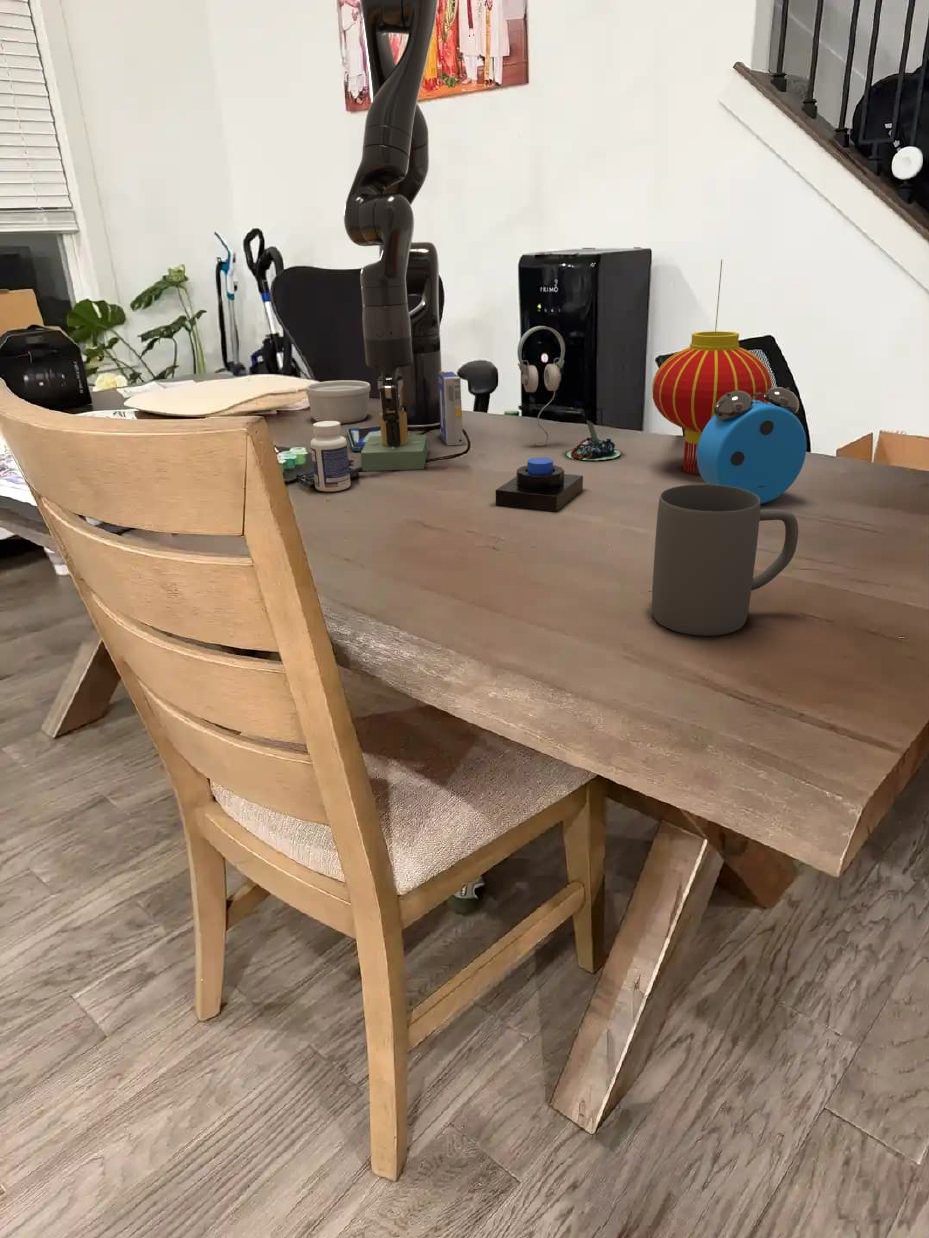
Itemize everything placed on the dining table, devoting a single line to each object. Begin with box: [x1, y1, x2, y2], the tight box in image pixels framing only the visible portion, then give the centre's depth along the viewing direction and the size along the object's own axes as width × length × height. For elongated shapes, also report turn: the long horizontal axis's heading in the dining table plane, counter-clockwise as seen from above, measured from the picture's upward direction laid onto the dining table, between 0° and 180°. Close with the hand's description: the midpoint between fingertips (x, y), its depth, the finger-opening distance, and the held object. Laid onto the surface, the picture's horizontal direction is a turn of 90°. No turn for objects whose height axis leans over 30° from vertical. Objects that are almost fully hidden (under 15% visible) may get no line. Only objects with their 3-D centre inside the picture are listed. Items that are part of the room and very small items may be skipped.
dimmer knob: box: [379, 410, 409, 446], centre depth 140 cm, size 4×4×5 cm
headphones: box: [516, 325, 566, 447], centre depth 144 cm, size 8×4×20 cm, turn 105°
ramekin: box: [305, 379, 371, 425], centre depth 175 cm, size 13×13×7 cm
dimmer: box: [360, 434, 429, 472], centre depth 141 cm, size 12×10×3 cm
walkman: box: [438, 370, 464, 446], centre depth 152 cm, size 8×3×12 cm, turn 11°
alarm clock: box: [696, 386, 808, 505], centre depth 112 cm, size 13×6×15 cm, turn 104°
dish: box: [566, 419, 622, 461], centre depth 141 cm, size 8×7×8 cm
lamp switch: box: [495, 464, 584, 512], centre depth 119 cm, size 11×9×4 cm
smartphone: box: [346, 425, 381, 452], centre depth 156 cm, size 7×1×15 cm
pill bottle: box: [309, 421, 351, 493], centre depth 126 cm, size 5×5×10 cm
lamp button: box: [526, 457, 554, 474], centre depth 118 cm, size 4×4×2 cm
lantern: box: [651, 259, 773, 475], centre depth 124 cm, size 17×17×30 cm
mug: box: [651, 483, 799, 637], centre depth 80 cm, size 14×9×12 cm
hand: (395, 441), depth 141 cm, fingers closed on dimmer knob, 4 cm apart
